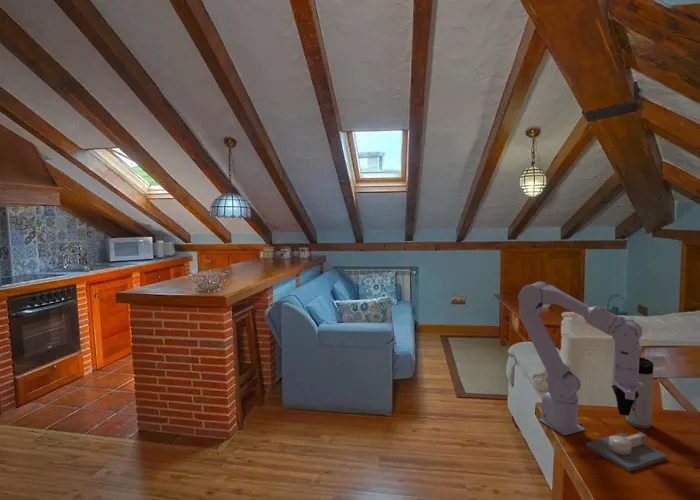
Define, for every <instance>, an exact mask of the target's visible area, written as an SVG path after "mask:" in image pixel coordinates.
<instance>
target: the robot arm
mask: <svg viewBox="0 0 700 500" xmlns="http://www.w3.org/2000/svg"><path fill="white" fill-rule="evenodd" d="M517 299H518V316H519V318H520V320H521V322H522V324H523V326H524V327H523V328H524V329H525V331H526V333H527V334H528V336H529V339H530V340H531V342H532V344H533V347H534V349H535V351H536V353H537V355H538V357H539V359H540V361H541V363H542V365H543V367H544V369H545V381H546V382H547V392H546V393H545V394H543V397H542V399H541V418H539V421H540V422H541V423H543V424H544V425H546V426H548V427H550V428H551V429H552V430H555V431H556V432H558V433H559V434H561V435H563V436H568V435H571V434H575V433H579V432H583V431H585V427H583V426H581V425H579V424H578V418H579V417H578V413H579V411H578V410H579V408H578V407H579V397H578V395H577V393H578V391H579V390H580V388H581V387H582V386H581V385H582V384H581V380H580V378H578V376H577V375H576V374H575V373H574V372H572V371H573V370H571V368H570V366H568V365H567V364H566V363H564V362H563V360H562V357H561V356H560V354H559V352H558V350H557V347H556V346H555V344H554V343H553V340H552V338H551V336H550V334H549V332H548V330H547V328H546V327H545V325H544V323H543V321H542V318H541V316H540V312H541V310H542V308H543V306H544V305H554V304H555V305H558V306H561V307H563V308H564V309H566V310H568V311H570V312H573V313H575V314H577V315H580V316H581V317H583V318H584V320H585V323H586V324H587V325H589V326H590V327H593V328H595V329H597V330H599V331H600V332H603V333H604V334H607V335H609V336H611V337H612V340H613V341H614V348H613V365H612V378H611V383H612V384H611V388H612V391H613V393H614V395H615V399H616V406H617V410H618V413H619V415H620V416H621V415H622V416H625V417H626V416H629V414H630V411H631V408H632V405H633V403H634V401H635V400H636V399H637V398H638V396H639V394H638V392H637V389H638V388H639V387H644V385H643V383H641V382H638V377H639V357H641V356H640V352H641V351H640V346H641V345H640V341H639V340H640V339H641V338H642V335H643V328H642V326H641V324H639V323H638V322H636V321H635V320H633V319H629V318H628V319H626V317H625V316H623V315H622V316H619V315H616V314H615V313H613V312H612V311H611V312H610V311H609V310H607V309H608V308H607V307H605V306H603V305H602V306H599V305H595V306H589V305H587V304H585V303H584V302H583V301H580V300H578V299H576V298H575V297H573V296H572V295H569V294H568V293H566V292H564V291H562V290H561V289H559V288H557V287H556V286H555V285H551V284H548V283H547V282H545V281H540V280H539V281H536V282H534V283H531V284H526V285H523V287H522V288H521V289H520V291H519V293H518V294H517Z"/></svg>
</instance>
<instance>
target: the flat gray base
mask: <svg viewBox="0 0 700 500" xmlns="http://www.w3.org/2000/svg"><path fill="white" fill-rule="evenodd" d="M610 436H621V437H624V438H625V437H628V436H629V435H628V434H626V433H623V432H620V433H616V434H612V435H609V436H606V437H602V438H599V439H596V440H591V441H588V442H585V448H588V449H589V450H591V451H593V452H594V453H596V454H598V455H599V456H601V457H602V458H604V459H606V460H607V461H609V462H611V463H612V464H615V465H616V466H617V467H619V468H621V469H623V470H625V471H626V472H628V473H630V472H633V471H635V470H640V469H642V468H644V467H648V466H650V465H654V464H656V463H660V462H663V461H666V460H668V455H667V454H665V453H663V452H661V451H659V450H657V449H656V448H653V447H652V446H649V445H647V444H644V445H639V446H636V447H633V448H631V454H630V455H620V454H617V453H615V452H613V451H611V450H610V449H609V437H610Z"/></svg>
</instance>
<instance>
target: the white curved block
mask: <svg viewBox="0 0 700 500" xmlns="http://www.w3.org/2000/svg"><path fill="white" fill-rule="evenodd" d="M609 436H610V437H609V449H610V450H611V451H613V452H615V453H617V454H620V455H630V454H631V448H633V447H636V446H639V445H644V444H645V445H647V438H648V437H647V436H648V435H647V434H645V433H643V432H641V431H639V432H636V433H635V434H632V435H628V437H625V438H624V437H621V436H612V435H609Z"/></svg>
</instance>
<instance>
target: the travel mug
mask: <svg viewBox="0 0 700 500" xmlns="http://www.w3.org/2000/svg"><path fill="white" fill-rule="evenodd" d="M638 382H641V383H643V385H644V387H639V388H638V389H637V392H638V394H639V396H638V398H637V399H636V400H635V401H634V403H633V405H632V408H631V411H630V414H629V416H626V415H625V422H626V423H627V424H629V426H632V427H634V428H637V429H641V430H642V429H645V430H647V429H650V428H651V427H652V418H653V417H652V416H653V415H652V413H653V412H652V410H653V390H654V388H653V387H654V385H653V384H654V362H653V361H651V360H650V359H647V358H644V357H641V356H640V357H639V377H638Z"/></svg>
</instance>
